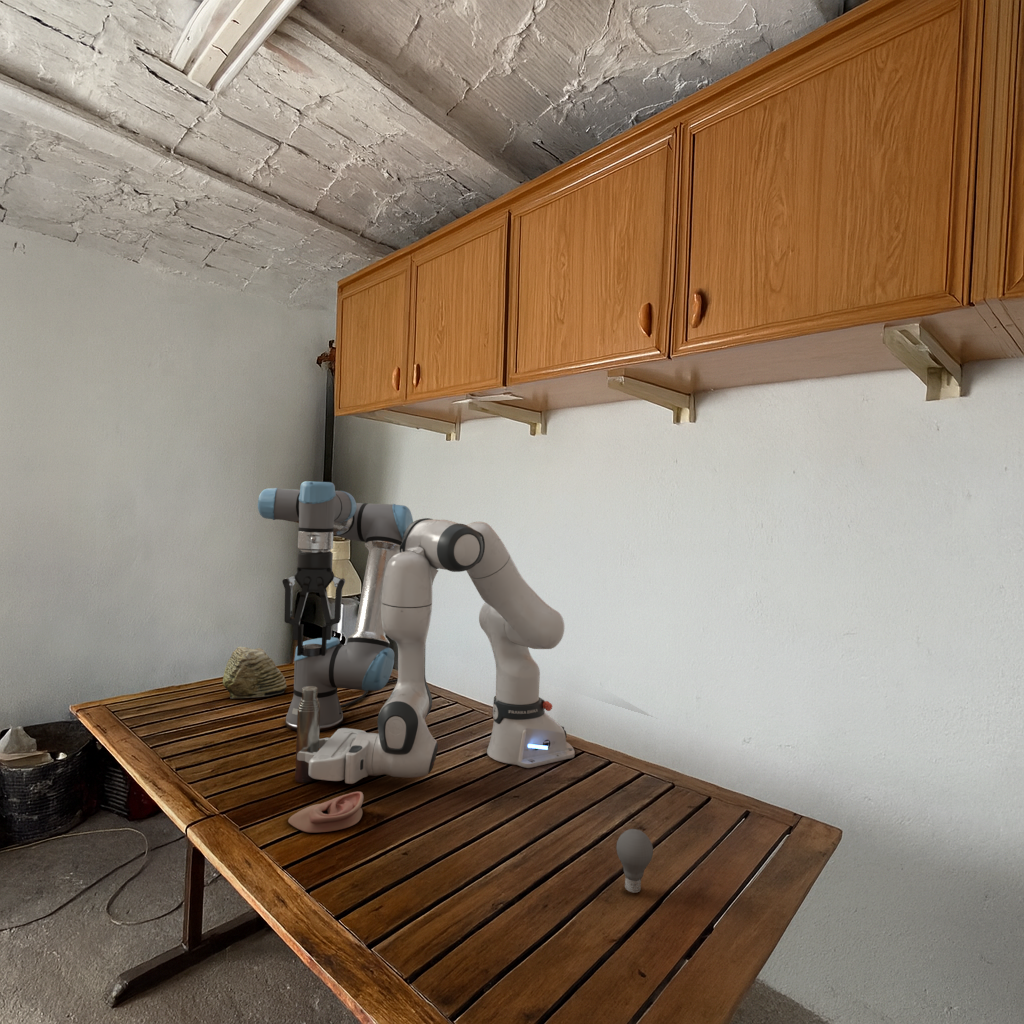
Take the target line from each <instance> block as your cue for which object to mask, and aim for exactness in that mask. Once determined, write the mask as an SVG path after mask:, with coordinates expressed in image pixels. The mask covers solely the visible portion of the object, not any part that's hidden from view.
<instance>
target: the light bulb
mask: <svg viewBox="0 0 1024 1024" xmlns="http://www.w3.org/2000/svg"><path fill="white" fill-rule="evenodd" d="M615 849H616V854H617V857H618V859H619V861H620V863H621V865H622V867H623V873H624V874H623V875H624V876H625V878H624V888H625V890H627V891H628V892H630V893H634V894H635V893H639V892H640V891H641V889H642V887H641V886H642V879H643V877H644V875H645V871H646V868H647V867H648V866H649V864H650V863H651V861H652V859H653V855H654V847H653V843H652V841H651V838H649V836H648V835H647V834H646V833H645V832H643V831H642V830H641V829H636V828H629V829H627V830H625V831H623V832H622V833H621V834H620V835H619V837H618V839H617V841H616V847H615Z"/></svg>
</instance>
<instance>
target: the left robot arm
mask: <svg viewBox="0 0 1024 1024" xmlns="http://www.w3.org/2000/svg"><path fill="white" fill-rule="evenodd" d="M355 499H356V498H354V496H353V495H352V494H351V493H350V492H347V491H344V490H336V485H335V484H334V483H333V482H331V481H309V480H305V481H303V482H301V484H300V487H299V489H293V488H278V487H272V488H270V487H269V488H265V489H263V490H262V491H261V492H260V494H259V495H258V498H257V510H258V514H259V515H260V516H261V517H262V518H263V519H267V520H273V521H275V520H279V521H287V522H291V523H297V524H298V532H297V534H298V537H297V548H298V549H299V551H298V552H297V559H296V561H297V563H296V571H295V573H294V575H292V576H289V577H287V576H286V577H285V578H283V579H282V581H281V582H282V586H283V588H284V619H283V620H284V623H285V624H290V625H291V626H292V640H293V641H297V645H296V647H295V652H294V653H295V654H294V659H293V661H294V672H293V695H292V696H293V697H292V699H291V702H290V704H289V708H288V711H287V713H286V715H285V726H286V728H287V729H289V730H291V731H294V732H295V731H296V732H297V715H298V706H299V703H300V701H301V699H302V688H303V687H307V686H315V687H317V689H318V691H317V698H318V700H319V704H320V732H325V731H329V730H332V729H335V728H337V727H339V726H340V725H342V723H343V722H344V714H343V709H344V708H346V707H349V706H351V705H354V704H356V703H358V702H359V701H362V700H363V699H365V698H366V696H367V694H368V693H369V692H371V691H373V692H374V691H375V692H377V691H381V690H382V689H384V687H385V686H386V685H388V684H392V683H397V681H398V678H395V679H390V678H391V675H392V673H393V670H394V666H395V665H394V664H395V652H394V650H393V649H392V648H391V647H390V645H391V644H390V641H389V639H388V638H387V637H386V636H387V635H386V634H385V632H384V631H383V626H382V619H381V599H382V588H383V581H384V576H385V571H386V567H387V563H388V561H389V559H390V558H391V557H392V556H394V555H395V554H397V553H400V549H399V548H400V545H401V543H402V539H403V535H404V533H405V531H406V529H407V527H408V526H409V525H410V524H411V523H412V522H414V519H413V514H412V512H411V509H410V508H409V507H408V506H406V505H403V504H396V503H391V504H389V503H370V502H369V503H366V502H356V500H355ZM334 536H335V537H340V538H343V539H347V540H350V541H354V542H360V543H361V542H363V543H364V547H365V549H367V550H368V555H367V559H366V566H365V572H364V577H363V583H362V589H361V593H360V598H359V606H358V610H357V617H356V621H355V622H356V623H355V628H354V632H353V633H352V634H350V635H349V636H348V637H347V641H346V644H341V641H340V639H339V638H338V637H334V636H333V626H334V625H337V624H339V623H340V622H341V619H342V605H343V603H342V601H343V599H342V598H343V588H344V586H345V584H346V579H345V578H343V577H342V578H340V577H339V576H338V577H337V576H335V573H334V571H333V562H334V561H333V559H334V558H333V557H334V553H333V552H332V550H333V549H334ZM401 551H402V549H401ZM295 582H297V585H299V587H300V588H301V591H300V595H299V599H298V603H297V606H296V611H295V614H294V616H293V592H294V591H293V590H294V589H293V587H294V585H295ZM332 582H333V586H334V588H335V598H334V617H333V616H332V612H331V608H330V607H331V606H330V602H329V596H328V591H327V588H329V586H330V584H331V583H332ZM311 593H317V594H319V598H320V603H321V608H322V612H323V618H324V623H323V625H322V627H321V637H317V638H312V639H307V640H304V624H303V623H301V622H302V621H301V620H302V617H303V614H304V609H305V606H306V603H307V602H306V601H307V598H308V595H309V594H311ZM306 644H320V645H322V652H321V655H320V656H315V657H307V656H302V655H301V648H302V646H303V645H306ZM338 689H346V690H357V691H364V692H363V694H362V695H361V696H359V697H357V698H356V699H353V700H351V701H349V702H346V703H342V704H341V702H340V699H339V695H338ZM342 708H343V709H342Z"/></svg>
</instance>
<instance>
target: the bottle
mask: <svg viewBox="0 0 1024 1024" xmlns="http://www.w3.org/2000/svg"><path fill="white" fill-rule="evenodd" d="M317 691H318V689H317V687H315V686H307V687H303V688H302V699H301V701H300V703H299V706H298V715H297V731H296V740H295V741H296V742H295V744H296V745H295V746H296V747H295V748H296V749H295V771H294V780H295V782H297V783H301V784H308V783H312V782H315V781H316V780H317V779H314V778H312V777H310V776H309V774H308V771H309V763H307V762H306V761H299V760H297V753H298V752H299V751H300V750H308V752H310V753H313V752H318V751H319V750H320V748H319V739H320V732H321V731H320V704H319V700H318V698H317Z"/></svg>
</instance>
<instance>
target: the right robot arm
mask: <svg viewBox="0 0 1024 1024" xmlns="http://www.w3.org/2000/svg"><path fill="white" fill-rule="evenodd" d="M399 549H400V553H397V554H395V555H394V556H392V557H391V558H390V559H389V561H388V563H387V567H386V571H385V576H384V581H383V588H382V599H381V619H382V626H383V631H384V632H385V634H386V635H385V636H387V637H388V638H389V639H390V640H391V641H394V642H395V643H396V647H397V679H398V681H397V682H396V684H395V686H394V687H393V689H392V691H391V694H390V695H389V697H388V698H387V700H386V701H385V703H384V704H383V705H382V707H381V708H380V710H379V713H378V716H377V723H376V724H377V731H378V733H377V732H366V731H365V730H362V729H357V728H348V727H341V728H337V730H335V732H334V733H333V734H332V735H331V736H330V737H323V738H319V751H318V752H313V753H310V752H308V750H300V751H299V752H298V753H297V760H299V761H306V762H307V763H309V771H308V774H309V776H310V777H312V778H314V779H316V780H321V781H330V782H340V781H341V782H342V781H343V780H344V783H345V784H349V785H353V784H355V783H357V782H359V781H361V780H362V779H363V778H367V777H368V776H372V777H373V776H374V777H376V776H381V775H383V776H384V775H385V776H390V777H392V778H404V779H405V778H407V779H408V778H409V779H410V778H423V777H426V776H428V775H429V774H430V773H431V771H432V770H433V768H434V765H435V761H436V758H437V754H438V749H439V748H438V747H439V744H438V741H437V740H436V739H435V737H434V736H433V735H432V733H431V731H430V730H429V728H428V725H427V723H426V718H427V717H428V715H429V714H430V712H431V710H432V708H433V698H432V693H431V690H430V688H429V685H428V683H427V682H428V681H427V677H426V645H427V638H428V634H429V630H430V625H431V619H432V612H433V584H434V581H435V578H436V576H437V574H438V572H439V570H445V571H449V572H451V573H452V572H453V573H461V572H466V573H467V575H468V576H469V578H470V580H471V582H472V583H473V585H474V587H475V589H476V591H477V592H478V594H479V596H480V598H481V599H482V601H484V603H483V604H482V605H481V608H480V610H479V614H478V623H479V626H480V628H481V629H482V631H483V632H484V634H485V635H486V637H487V639H488V641H489V643H490V648H491V651H492V653H493V659H494V663H495V695H494V697H493V703H492V704H493V705H492V720H493V722H492V730H491V734H490V738H489V741H488V742H489V743H488V746H487V749H486V754H487V756H489V758H491V759H492V760H494V761H497V762H499V763H504V764H507V765H514V766H519V767H521V768H526V769H532V768H536V767H540V766H543V765H548V764H552V763H556V762H560V761H565V760H568V759H574V758H575V756H576V753H575V752H576V751H575V748H574V747H573V746H572V745H571V744H570V743H569V742H568V741H567V738H568V736H567V731H566V730H565V727H564V726H562V725H561V724H560V723H558V721H556V720H555V719H554V718H553V717H552V716H550V715H549V714H548V713H547V712H550V711H552V709H553V703H551V702H549V701H548V700H545V699H543V698H541V696H540V683H541V682H540V681H541V670H540V666H539V665H538V663H537V662H536V660H535V659H534V658H533V656H532V654H531V652H530V649H534V650H552V649H554V648H556V647H557V646H558V645H559V644H560V643H561V641H562V640H563V637H564V634H565V629H566V627H565V620H564V618H563V616H562V614H561V613H560V612H559V611H558V610H556V609H554V608H553V607H552V606H550V605H549V604H548V603H546V601H544V599H542V598H541V596H539V594H538V593H537V592H536V591H535V590H534V589H533V588H532V587H531V586H530V585H529V583H528V582H527V581H526V580H525V579H524V577H523V576H522V574H521V573H520V571H519V569H518V567H517V566H516V564H515V562H514V560H513V557H512V556H511V554H510V552H509V551H508V548H507V547H506V546H505V543H504V542H503V541H502V539H501V538H500V536H499V534H498V533H497V532H496V531H495V529H494V528H493V527H492V525H490V524H488V523H487V522H484V521H472V522H470V523H468V524H465V523H458V522H455V521H452V520H448V519H438V518H437V519H433V518H427V517H425V518H419V519H416V520H413V522H412V523H411V524H410V525H409V526H408V527H407V529H406V531H405V533H404V535H403V539H402V543H401V545H400V548H399ZM401 549H402V551H401ZM545 711H547V712H545Z"/></svg>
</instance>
